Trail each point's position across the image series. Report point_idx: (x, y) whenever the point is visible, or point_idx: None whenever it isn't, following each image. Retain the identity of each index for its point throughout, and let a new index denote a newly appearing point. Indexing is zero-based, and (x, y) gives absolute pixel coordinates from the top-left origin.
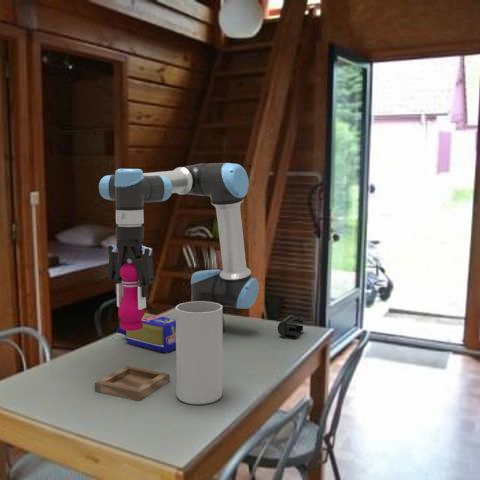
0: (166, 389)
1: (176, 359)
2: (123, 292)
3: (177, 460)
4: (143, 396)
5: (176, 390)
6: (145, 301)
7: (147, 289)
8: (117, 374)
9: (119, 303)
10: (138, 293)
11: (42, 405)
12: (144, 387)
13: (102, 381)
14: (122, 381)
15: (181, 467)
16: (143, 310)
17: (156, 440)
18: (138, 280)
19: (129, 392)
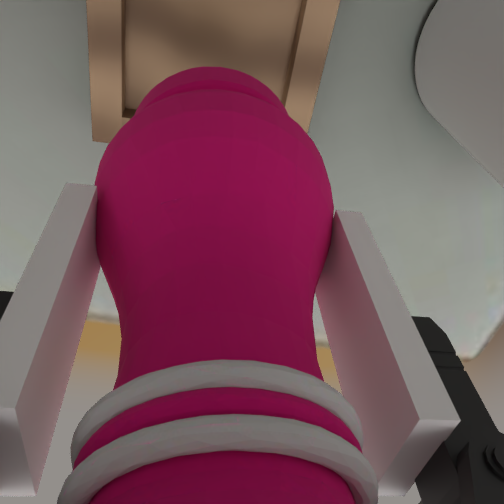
0: (357, 20)
1: (483, 158)
2: (63, 304)
3: (463, 346)
4: None
5: (422, 92)
6: (377, 258)
7: (473, 399)
8: (119, 26)
9: (93, 284)
10: (354, 409)
11: (29, 257)
12: (301, 123)
13: (112, 121)
14: (153, 29)
15: (472, 358)
16: (333, 210)
17: (408, 308)
18: (350, 492)
19: None
